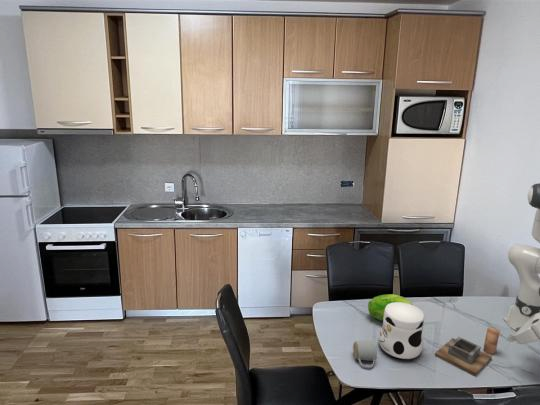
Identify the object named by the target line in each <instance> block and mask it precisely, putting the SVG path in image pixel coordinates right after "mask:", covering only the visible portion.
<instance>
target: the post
mask: <svg viewBox="0 0 540 405" xmlns="http://www.w3.org/2000/svg"><path fill="white" fill-rule="evenodd" d="M499 337H500V330H498V329H497V328H496V327H487V329H486V334H485V339H484V344H483V351H482V352H484V353H486V354H488V355H490V356H495V355H496V353H497V349H498V348H497V347H498V343H499Z"/></svg>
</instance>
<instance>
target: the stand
mask: <svg viewBox="0 0 540 405" xmlns="http://www.w3.org/2000/svg"><path fill="white" fill-rule="evenodd" d="M481 348H482V346H480V345H479V344H476V343H473V342H471V341H468V339H465V338H462V337H460V336H457V338H456V339H455V338H454V337H452V338H451V339H449V341H447V342H446V343H445V344H443V346H441V347H440V348H438V350H437V351H435V353H434V356H435V357H436V358H439V359H441V360H442V361H444V362H447V363H448V364H450V365H452V366H454V367H456V368H458V369H459V370H462V371H463V372H466V373H468V374H469V375H471V376H473V377H476V376H477V375H478V374H479V373H480V372H481V371H482V369H484V368H485V367H486V365H488V364H489V363H490V361H491V360H492V356H493V355H490V354H487V353H485V352H484V351H482V350H481Z"/></svg>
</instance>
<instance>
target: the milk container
mask: <svg viewBox="0 0 540 405" xmlns="http://www.w3.org/2000/svg"><path fill="white" fill-rule="evenodd" d="M424 321H425V315H424V312H423V311H422V310H421V309H420V308H419V307H417V306H416V305H413V304H412V305H411V304H407V303H402V302H394V303H390V304H388V305H387V306H386V307H385V311H384V317H383V321H382V326H381V328H380V330H379V334H378V339H379V340H378V341H379V346H380V348H381V349H382V350H383V351H384V352H385V353H386V354H387V355H389V356H391V357H393V358H397V359H400V360H412V359H415V358H417V357H418V356H419V355H420V354H421V352H422V350H423V347H424V346H423V345H424V341H423V330H424V323H425V322H424Z"/></svg>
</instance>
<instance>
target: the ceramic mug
mask: <svg viewBox="0 0 540 405" xmlns="http://www.w3.org/2000/svg"><path fill="white" fill-rule="evenodd" d="M352 349H353V355H354V358H355V360H358V363H359V365H360V366H361V367H362V368H363V369H366V370H367V369H369V370H370V369H372V368H373V367H374V365H375V361H376V360H377V357H378V356H377V355H378V352H377V350H378V349H377V345H376V342H375V340H374V339H369V340H368V339H366V340H365V339H364V340H356V341H354V342H353V345H352ZM362 361H372V364H371V365H365V364H363V362H362Z"/></svg>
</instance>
